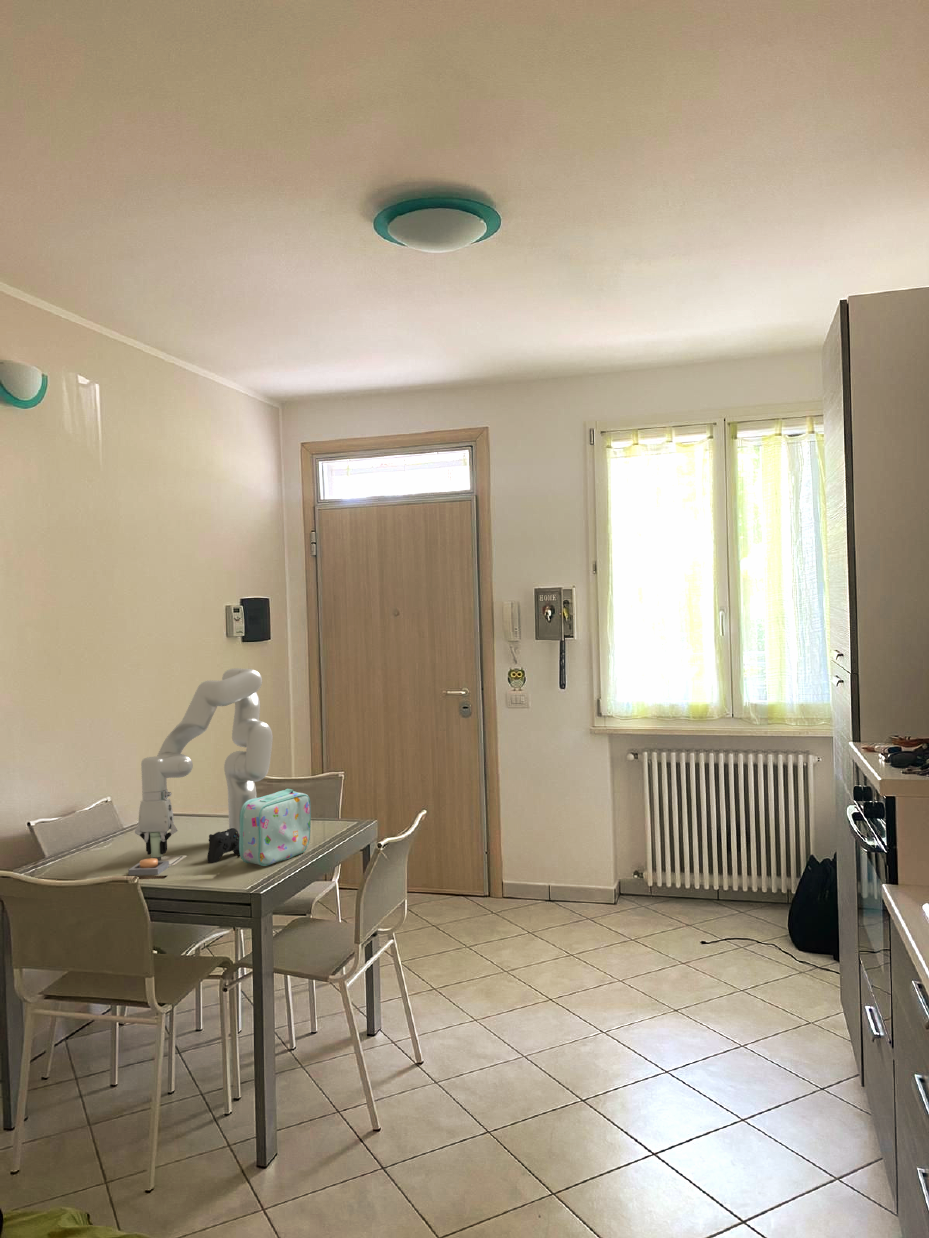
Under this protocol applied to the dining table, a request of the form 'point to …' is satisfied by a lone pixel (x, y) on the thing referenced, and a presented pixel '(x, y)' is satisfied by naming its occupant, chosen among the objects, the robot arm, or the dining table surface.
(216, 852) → the gaming controller
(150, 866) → the button
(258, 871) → the dining table surface
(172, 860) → the drawing board
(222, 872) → the dining table surface
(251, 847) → the lunch box
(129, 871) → the button housing
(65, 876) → the dining table surface
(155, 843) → the pale green cylinder
